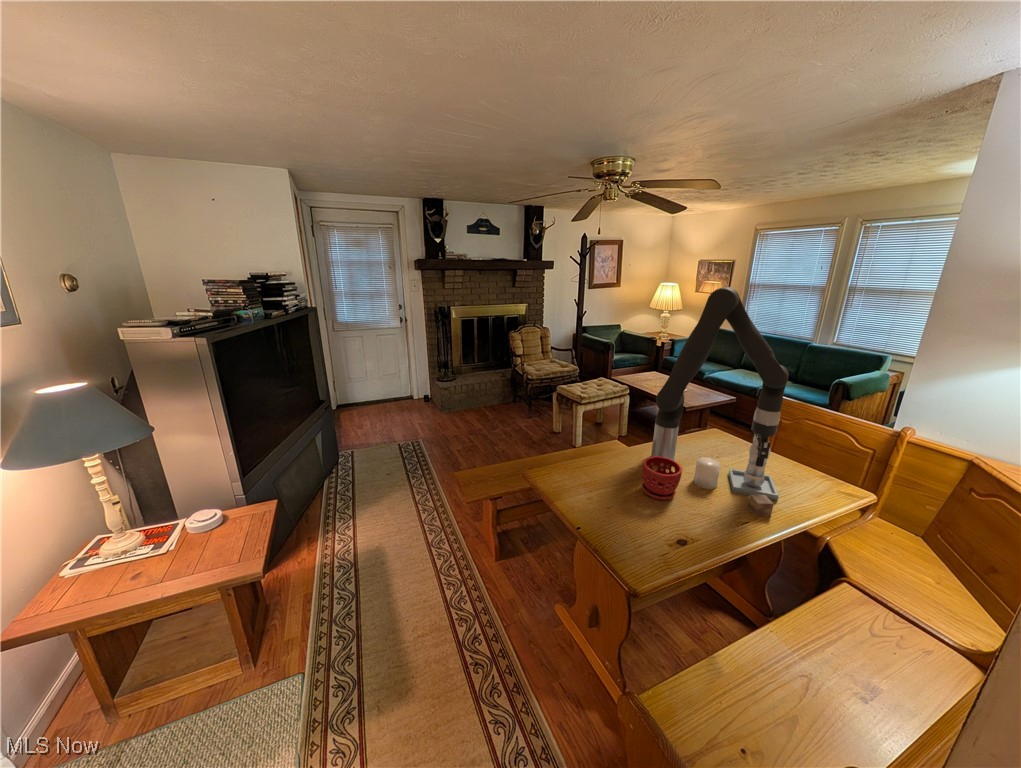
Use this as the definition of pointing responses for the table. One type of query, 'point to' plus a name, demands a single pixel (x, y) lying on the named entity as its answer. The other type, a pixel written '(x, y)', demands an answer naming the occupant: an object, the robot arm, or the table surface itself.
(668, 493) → the plant pot
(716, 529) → the table surface
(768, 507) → the walnut block
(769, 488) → the tray
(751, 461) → the plastic bottle
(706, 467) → the white domed cylinder
